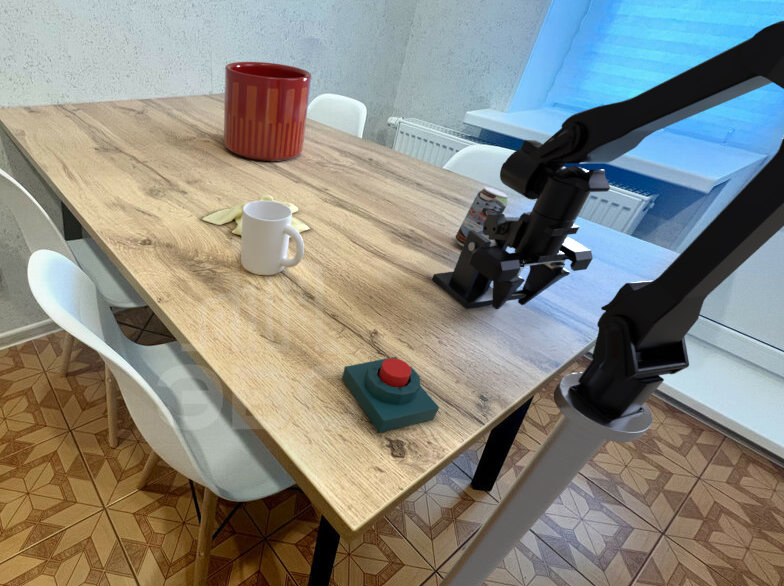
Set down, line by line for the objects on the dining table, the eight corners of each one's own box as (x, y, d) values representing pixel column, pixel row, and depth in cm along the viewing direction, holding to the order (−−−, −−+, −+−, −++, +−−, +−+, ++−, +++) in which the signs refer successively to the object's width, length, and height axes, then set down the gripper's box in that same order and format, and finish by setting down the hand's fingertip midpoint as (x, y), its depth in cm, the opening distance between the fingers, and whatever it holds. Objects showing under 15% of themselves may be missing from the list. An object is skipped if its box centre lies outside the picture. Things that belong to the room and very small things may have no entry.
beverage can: (447, 241, 98) (467, 184, 91) (473, 238, 101) (495, 182, 93) (467, 255, 94) (490, 197, 86) (493, 251, 97) (518, 194, 89)
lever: (521, 301, 75) (532, 293, 73) (498, 305, 74) (508, 297, 72) (489, 241, 80) (498, 232, 78) (465, 244, 78) (474, 234, 76)
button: (413, 384, 57) (417, 374, 56) (388, 390, 56) (392, 379, 55) (397, 366, 60) (401, 356, 59) (373, 371, 59) (376, 360, 57)
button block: (433, 419, 58) (444, 396, 56) (379, 433, 56) (387, 410, 53) (392, 368, 65) (399, 346, 62) (341, 378, 62) (347, 356, 60)
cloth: (289, 201, 108) (292, 174, 104) (324, 237, 95) (329, 208, 91) (195, 208, 100) (194, 179, 96) (219, 247, 88) (219, 216, 84)
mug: (311, 272, 84) (320, 217, 77) (285, 289, 78) (292, 232, 72) (258, 249, 88) (262, 196, 82) (231, 265, 83) (232, 209, 76)
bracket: (502, 303, 81) (530, 246, 74) (466, 309, 78) (491, 251, 71) (466, 274, 88) (488, 220, 81) (431, 279, 85) (451, 223, 78)
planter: (209, 152, 130) (209, 67, 117) (244, 134, 147) (247, 58, 133) (285, 169, 125) (293, 82, 111) (312, 148, 141) (322, 71, 128)
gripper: (559, 188, 73) (516, 274, 84) (464, 194, 68) (431, 286, 78) (619, 217, 66) (565, 308, 76) (519, 227, 60) (474, 324, 70)
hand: (508, 305), depth 75 cm, fingers closed on lever, 5 cm apart
